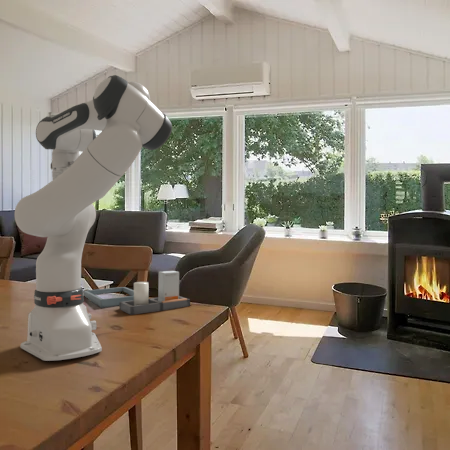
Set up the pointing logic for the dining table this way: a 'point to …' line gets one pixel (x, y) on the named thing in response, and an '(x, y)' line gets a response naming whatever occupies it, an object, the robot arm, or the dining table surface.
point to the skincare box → (168, 286)
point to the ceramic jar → (141, 293)
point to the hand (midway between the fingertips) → (66, 203)
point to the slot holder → (153, 305)
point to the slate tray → (110, 301)
